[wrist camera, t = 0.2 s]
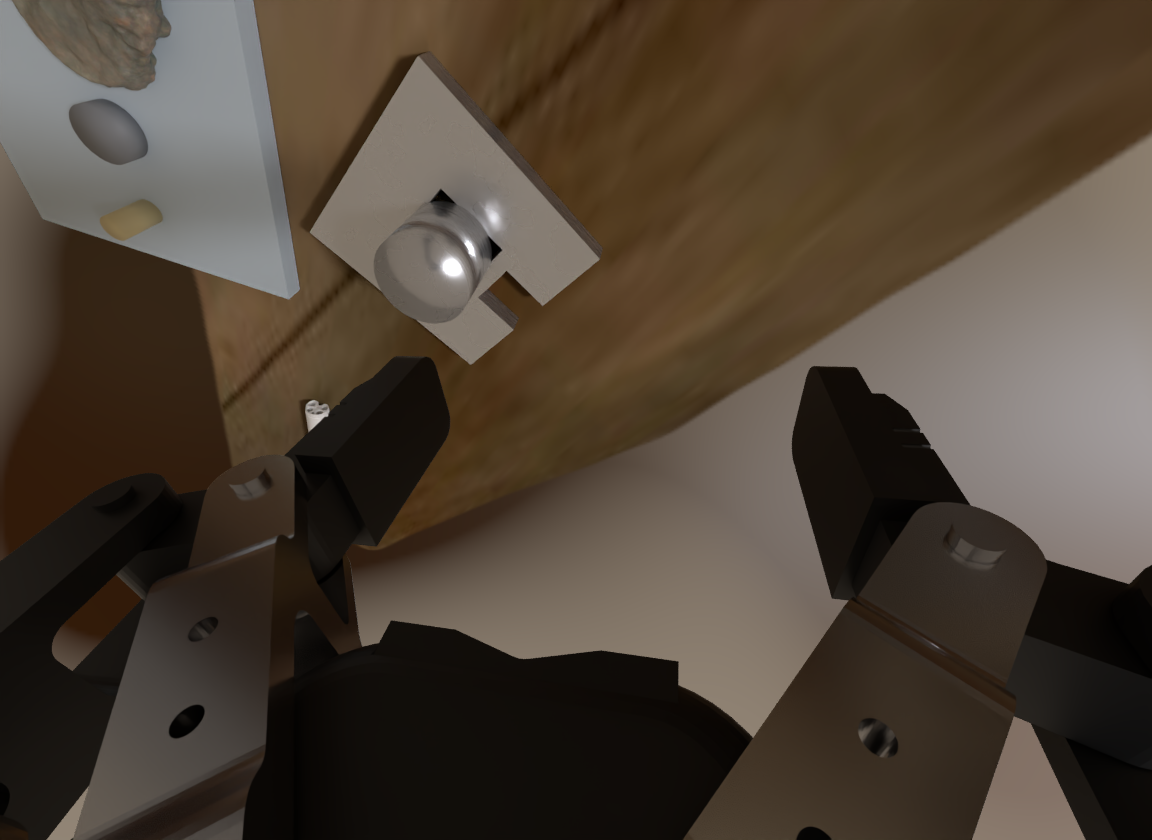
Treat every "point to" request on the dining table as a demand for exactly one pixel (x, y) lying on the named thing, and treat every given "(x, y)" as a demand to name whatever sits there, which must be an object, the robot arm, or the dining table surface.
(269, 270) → the base plate
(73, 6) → the long grey stone
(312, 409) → the marker
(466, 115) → the flange plate
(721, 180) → the dining table surface
